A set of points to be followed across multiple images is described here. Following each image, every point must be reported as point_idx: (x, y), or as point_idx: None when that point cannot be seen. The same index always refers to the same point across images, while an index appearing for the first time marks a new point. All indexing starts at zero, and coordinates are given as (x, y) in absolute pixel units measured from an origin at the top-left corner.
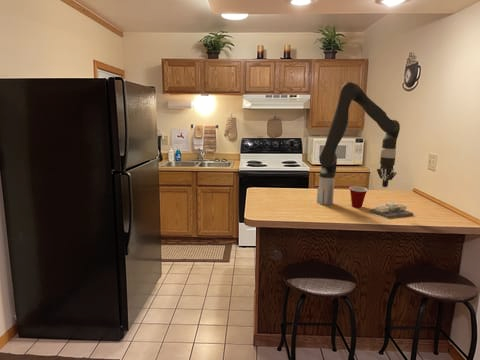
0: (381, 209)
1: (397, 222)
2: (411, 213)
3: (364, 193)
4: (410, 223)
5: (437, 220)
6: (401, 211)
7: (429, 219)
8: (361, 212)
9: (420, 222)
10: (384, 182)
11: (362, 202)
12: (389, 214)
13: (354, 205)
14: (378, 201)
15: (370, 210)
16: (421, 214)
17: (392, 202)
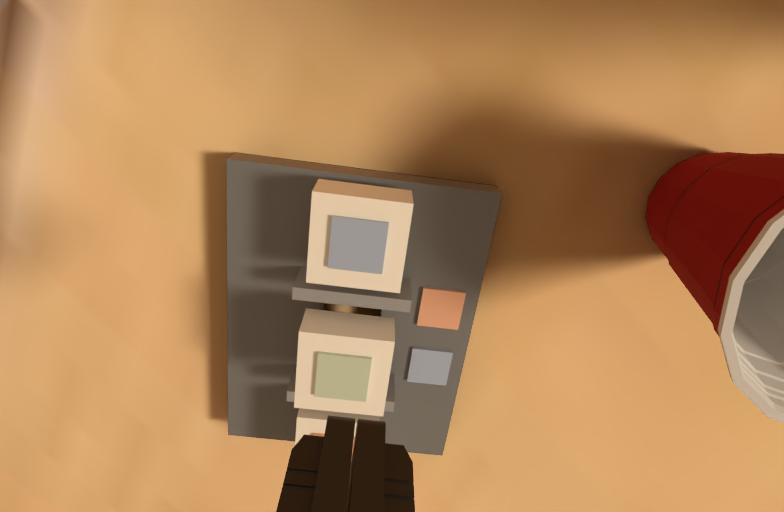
0: (327, 187)
1: (94, 131)
2: (229, 418)
3: (716, 293)
4: (41, 219)
5: (72, 461)
6: None
7: (108, 437)
8: (523, 68)
9: (51, 319)
10: (319, 503)
11: (664, 241)
12: (260, 215)
13: (710, 155)
14: (663, 500)
15: (492, 189)
16: (234, 486)
17: (374, 413)
